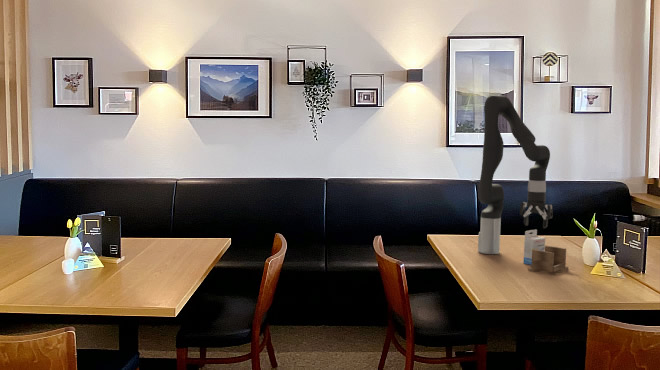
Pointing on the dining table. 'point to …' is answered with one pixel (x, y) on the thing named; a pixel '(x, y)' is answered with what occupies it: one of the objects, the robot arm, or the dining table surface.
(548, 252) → the holder
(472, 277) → the dining table surface
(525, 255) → the ink box
